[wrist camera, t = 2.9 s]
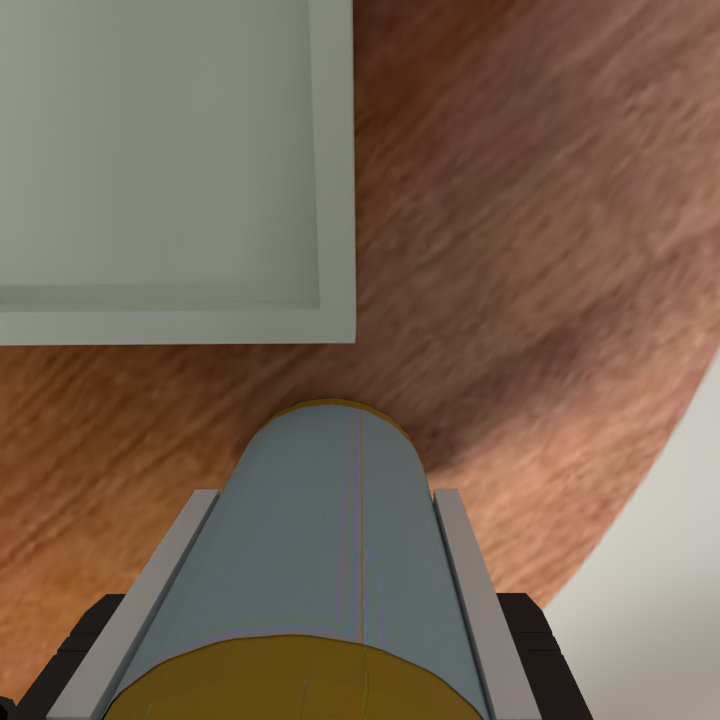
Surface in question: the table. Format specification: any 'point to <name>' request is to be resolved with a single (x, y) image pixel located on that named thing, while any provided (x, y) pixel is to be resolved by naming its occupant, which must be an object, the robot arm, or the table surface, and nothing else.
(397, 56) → the table surface
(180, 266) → the pale green square tray
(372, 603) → the bottle
